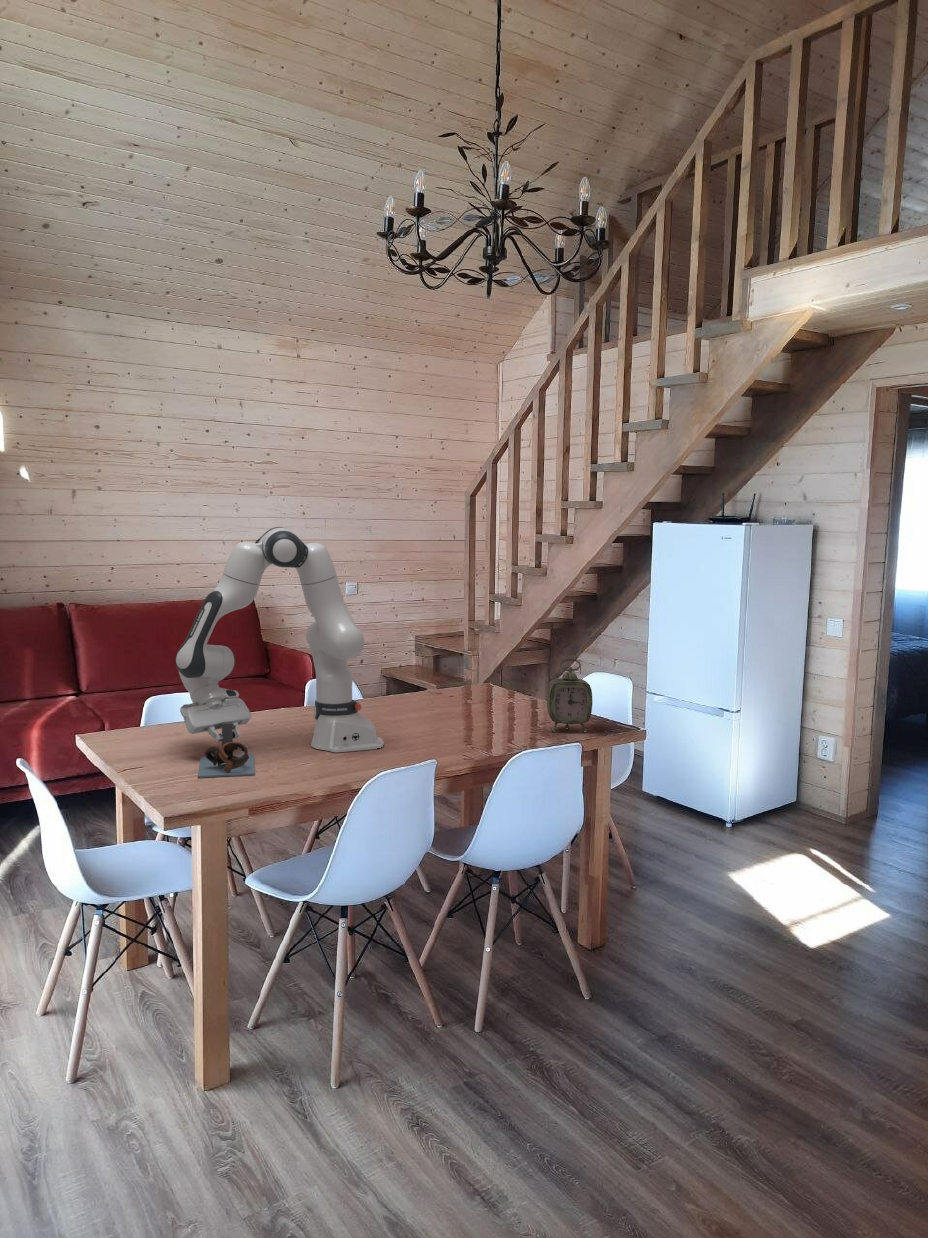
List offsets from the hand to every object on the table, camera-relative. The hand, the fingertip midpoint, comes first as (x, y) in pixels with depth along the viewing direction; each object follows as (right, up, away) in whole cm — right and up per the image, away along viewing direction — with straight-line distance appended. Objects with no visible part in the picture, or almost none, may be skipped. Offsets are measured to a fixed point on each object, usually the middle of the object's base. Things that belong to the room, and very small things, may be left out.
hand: (228, 738), depth 262 cm
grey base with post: (+2, -7, -8) cm, 10 cm away
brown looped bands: (+3, -7, -11) cm, 14 cm away
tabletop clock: (+104, -3, +44) cm, 113 cm away
